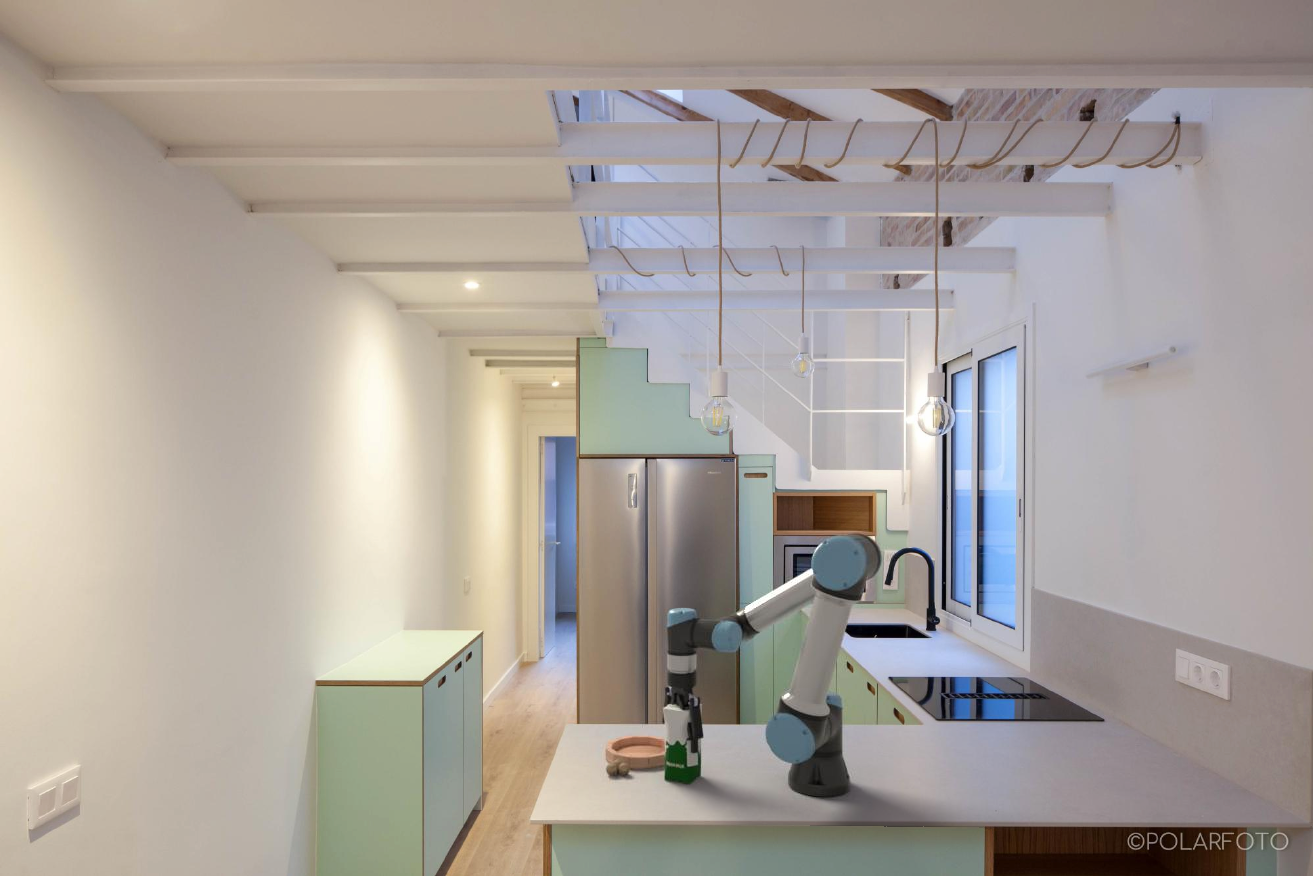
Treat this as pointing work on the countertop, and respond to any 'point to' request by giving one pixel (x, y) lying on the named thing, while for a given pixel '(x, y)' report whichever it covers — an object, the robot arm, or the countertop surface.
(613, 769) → the bead pile
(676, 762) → the soya milk
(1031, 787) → the countertop surface
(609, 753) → the tray
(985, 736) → the countertop surface
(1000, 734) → the countertop surface
